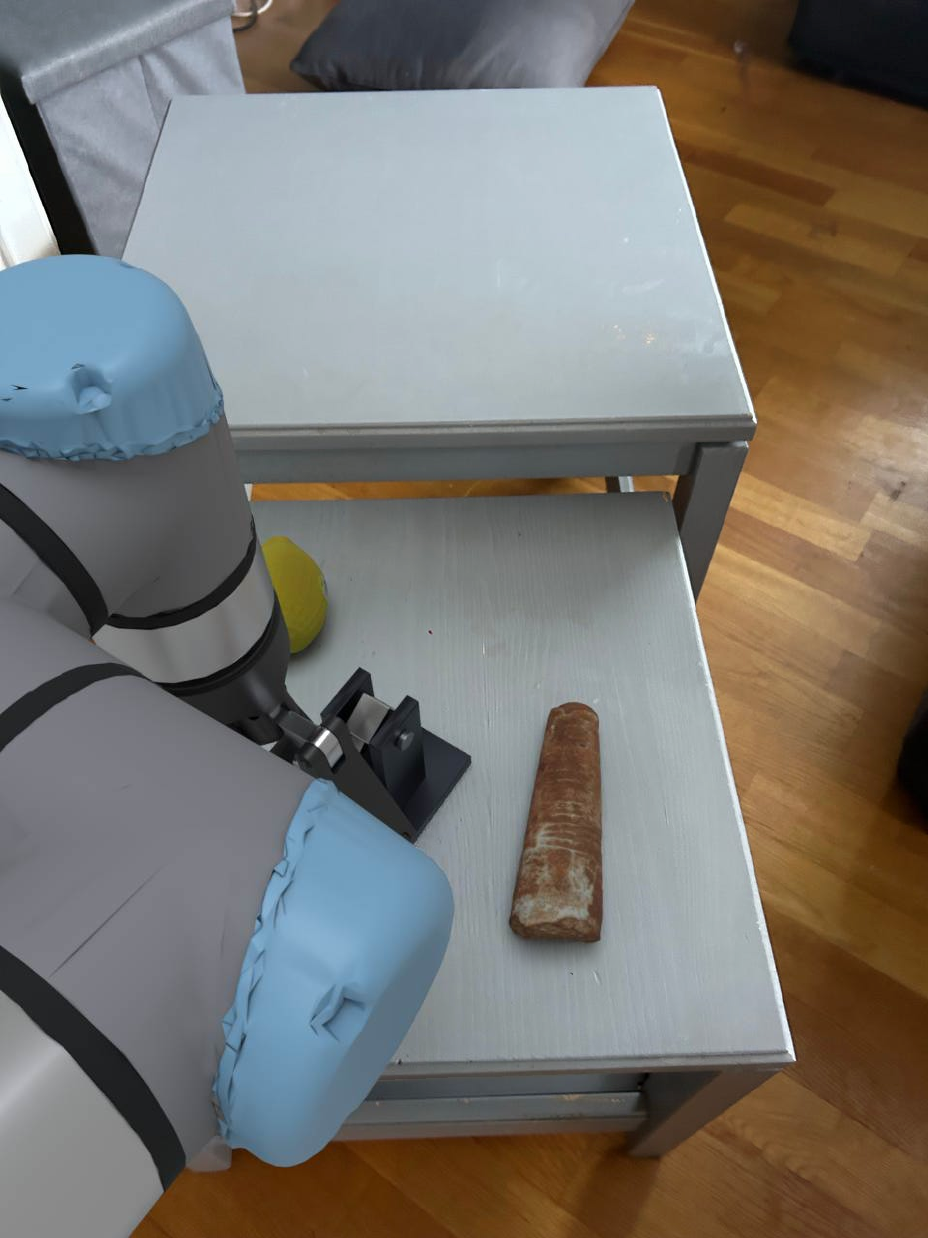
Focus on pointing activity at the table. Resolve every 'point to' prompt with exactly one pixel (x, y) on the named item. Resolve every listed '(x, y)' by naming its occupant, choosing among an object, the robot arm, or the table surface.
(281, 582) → the lemon
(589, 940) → the bread
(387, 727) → the bracket
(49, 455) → the robot arm
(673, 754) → the table surface
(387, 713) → the lever
